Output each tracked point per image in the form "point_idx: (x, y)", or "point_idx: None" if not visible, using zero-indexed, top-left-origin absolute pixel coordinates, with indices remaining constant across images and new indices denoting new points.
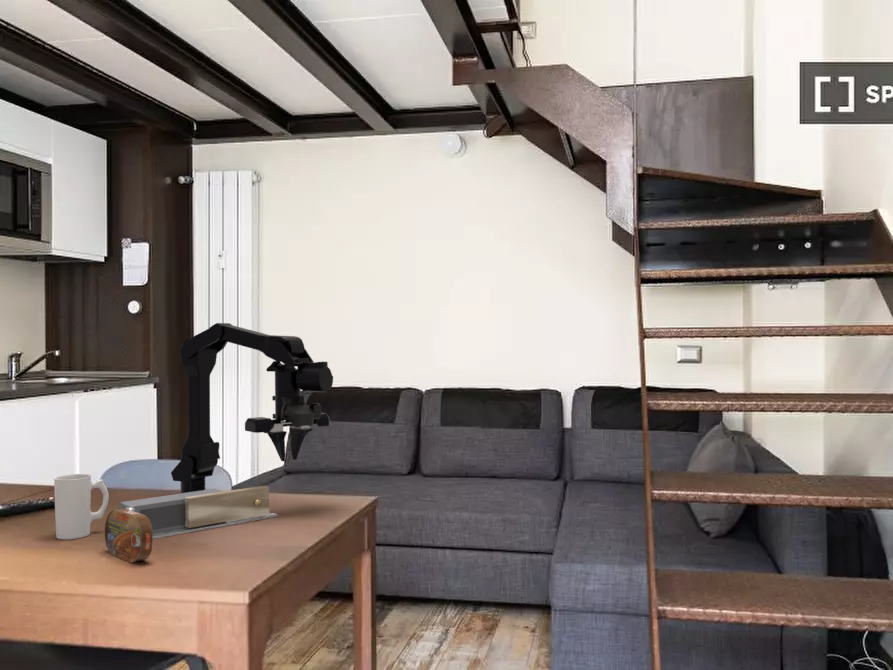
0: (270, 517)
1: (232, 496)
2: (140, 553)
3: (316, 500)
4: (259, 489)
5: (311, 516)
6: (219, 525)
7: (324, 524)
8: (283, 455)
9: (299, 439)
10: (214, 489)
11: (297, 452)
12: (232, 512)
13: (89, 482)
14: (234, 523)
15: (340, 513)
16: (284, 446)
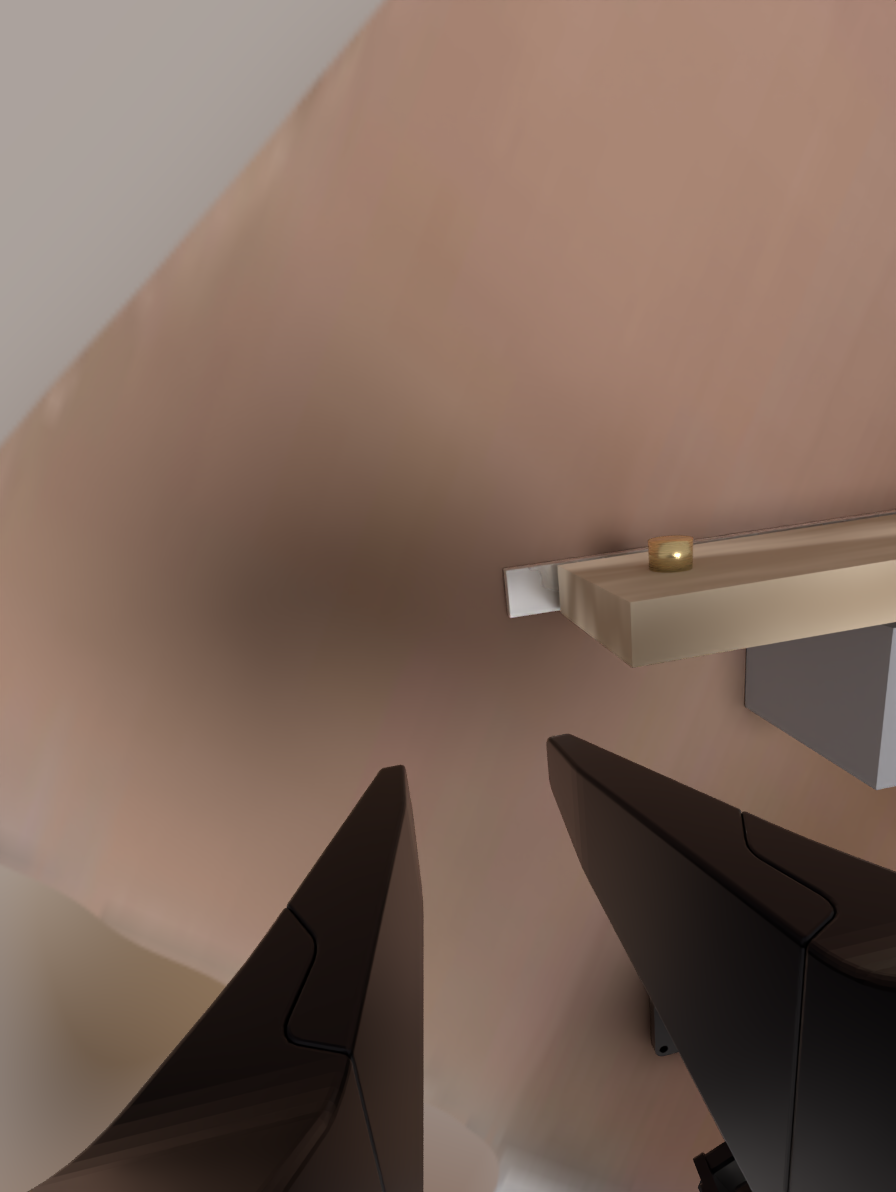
0: (542, 563)
1: (870, 555)
2: None
3: (178, 817)
4: (698, 587)
5: (341, 460)
6: (808, 523)
7: (347, 203)
8: (600, 760)
9: (319, 1010)
10: (887, 764)
11: (368, 814)
12: (788, 539)
13: None
14: (733, 534)
15: (152, 424)
16: (676, 831)
